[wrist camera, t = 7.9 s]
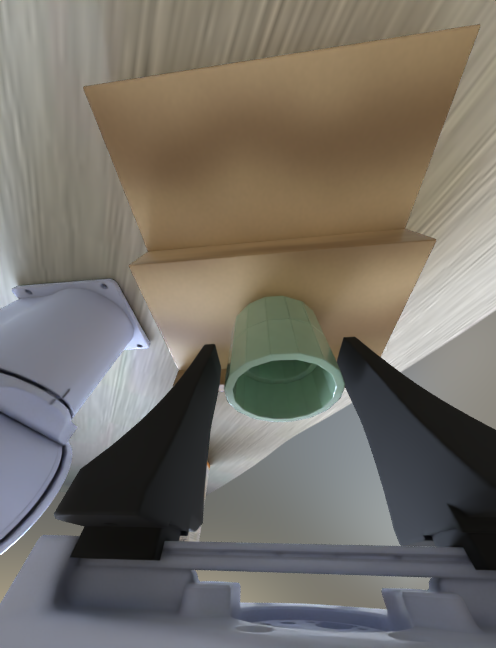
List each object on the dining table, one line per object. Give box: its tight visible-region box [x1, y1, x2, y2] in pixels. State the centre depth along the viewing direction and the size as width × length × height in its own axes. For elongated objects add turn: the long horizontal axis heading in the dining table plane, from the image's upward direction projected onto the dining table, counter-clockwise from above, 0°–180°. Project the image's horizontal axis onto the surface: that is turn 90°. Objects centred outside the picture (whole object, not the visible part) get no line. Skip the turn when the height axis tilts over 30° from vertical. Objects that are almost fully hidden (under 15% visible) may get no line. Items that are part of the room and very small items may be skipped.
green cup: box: [224, 296, 345, 422], centre depth 11 cm, size 6×6×5 cm
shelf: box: [83, 24, 480, 392], centre depth 12 cm, size 17×16×6 cm
